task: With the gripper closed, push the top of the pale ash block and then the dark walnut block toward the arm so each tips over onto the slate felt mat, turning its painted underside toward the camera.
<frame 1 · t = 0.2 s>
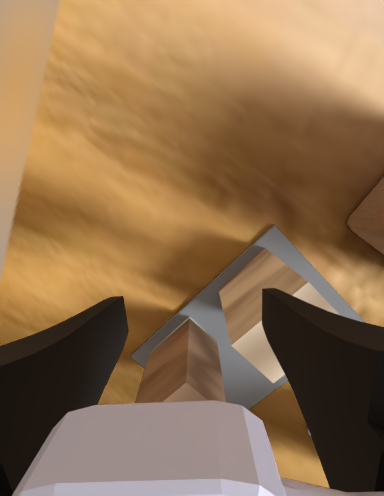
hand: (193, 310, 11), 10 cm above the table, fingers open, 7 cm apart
felt mat: (243, 338, 23), on the table
ash block: (255, 283, 21), resting on felt mat
walnut block: (183, 346, 23), resting on felt mat
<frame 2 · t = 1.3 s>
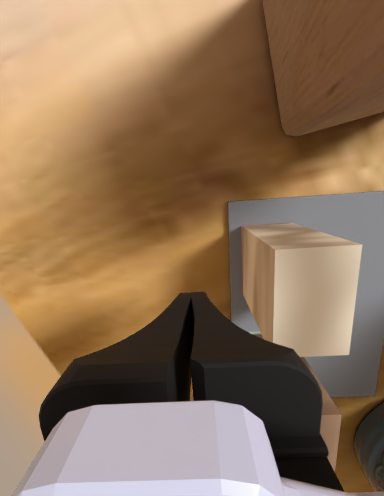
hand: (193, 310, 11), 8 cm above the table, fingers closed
felt mat: (307, 307, 20), on the table
wooden block: (336, 50, 16), on the table
ash block: (265, 259, 19), resting on felt mat
walnut block: (264, 358, 21), resting on felt mat
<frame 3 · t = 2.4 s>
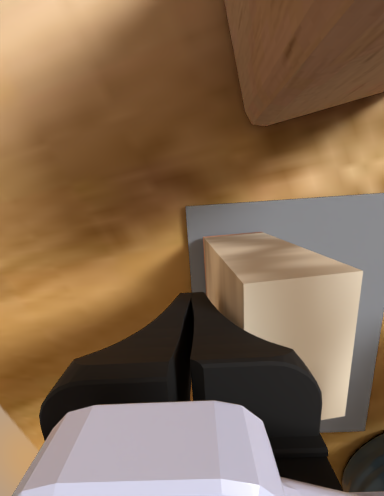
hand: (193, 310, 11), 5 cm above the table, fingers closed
felt mat: (284, 330, 17), on the table
wooden block: (312, 18, 12), on the table
ash block: (233, 276, 15), point 1 cm above the table, tilted 7°, touching felt mat
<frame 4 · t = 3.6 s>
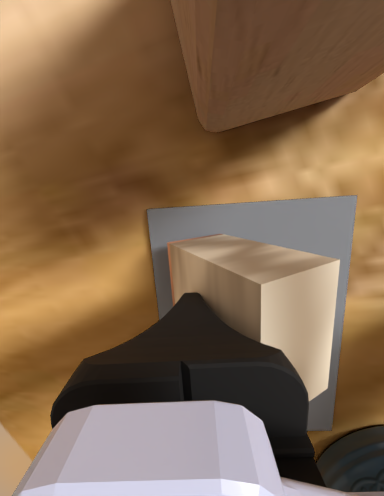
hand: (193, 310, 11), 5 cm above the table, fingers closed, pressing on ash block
felt mat: (248, 329, 17), on the table
canister: (376, 471, 21), on the table
wooden block: (263, 28, 13), on the table
ash block: (198, 280, 15), point 1 cm above the table, tilted 29°, touching felt mat, gripper
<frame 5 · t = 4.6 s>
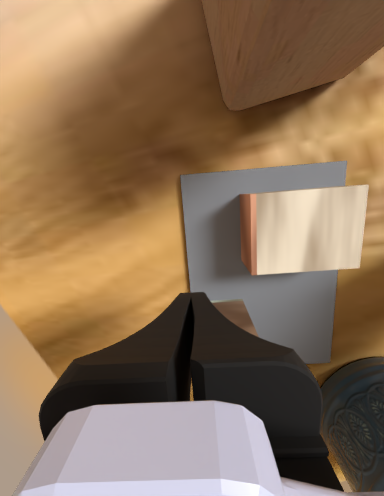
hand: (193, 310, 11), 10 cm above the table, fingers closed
felt mat: (261, 276, 21), on the table
canister: (367, 400, 25), on the table
wooden block: (272, 29, 17), on the table
ash block: (245, 231, 18), point 2 cm above the table, tilted 90°, touching felt mat
walnut block: (223, 326, 22), resting on felt mat
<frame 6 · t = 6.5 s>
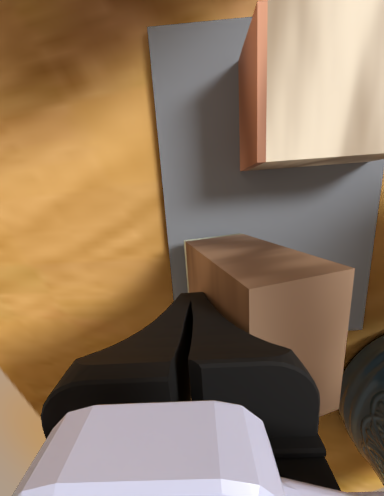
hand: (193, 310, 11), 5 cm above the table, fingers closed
felt mat: (268, 200, 15), on the table
ash block: (246, 106, 11), point 2 cm above the table, tilted 90°, touching felt mat
walnut block: (215, 279, 15), point 1 cm above the table, tilted 17°, touching felt mat, gripper
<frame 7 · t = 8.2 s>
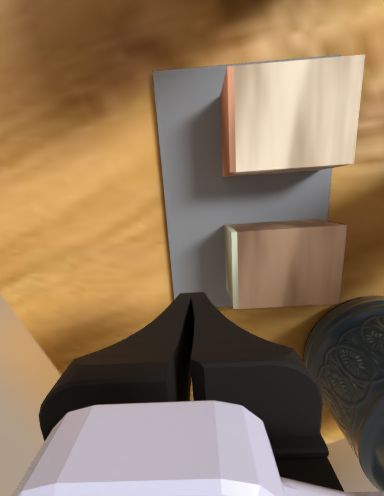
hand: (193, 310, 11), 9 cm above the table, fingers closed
felt mat: (245, 199, 19), on the table
canister: (362, 348, 23), on the table
ash block: (224, 131, 16), point 2 cm above the table, tilted 90°, touching felt mat
walnut block: (228, 264, 18), point 2 cm above the table, tilted 90°, touching felt mat
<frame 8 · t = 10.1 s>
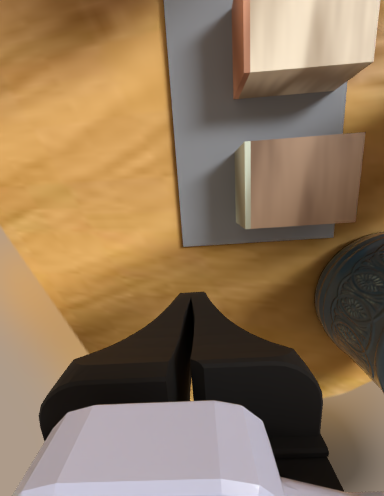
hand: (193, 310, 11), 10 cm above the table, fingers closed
felt mat: (256, 126, 19), on the table
canister: (374, 291, 22), on the table
ash block: (237, 37, 15), point 2 cm above the table, tilted 90°, touching felt mat
walnut block: (239, 188, 17), point 2 cm above the table, tilted 90°, touching felt mat
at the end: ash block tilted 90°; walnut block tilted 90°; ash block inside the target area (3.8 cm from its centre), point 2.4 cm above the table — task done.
